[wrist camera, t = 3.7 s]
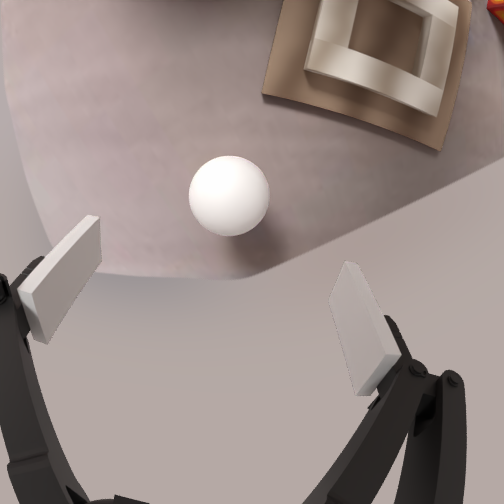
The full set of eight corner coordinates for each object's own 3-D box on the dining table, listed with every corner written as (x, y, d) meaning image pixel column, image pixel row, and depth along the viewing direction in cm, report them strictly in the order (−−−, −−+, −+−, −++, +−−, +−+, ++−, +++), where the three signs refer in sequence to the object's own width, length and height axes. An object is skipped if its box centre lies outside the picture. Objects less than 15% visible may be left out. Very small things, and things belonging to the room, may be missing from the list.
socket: (261, 92, 26) (262, 93, 23) (301, -70, 16) (306, -82, 13) (436, 149, 28) (450, 156, 25) (467, 4, 18) (482, 1, 15)
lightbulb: (243, 207, 32) (239, 265, 22) (193, 177, 30) (166, 223, 21) (277, 160, 29) (290, 200, 20) (225, 127, 28) (211, 149, 18)
